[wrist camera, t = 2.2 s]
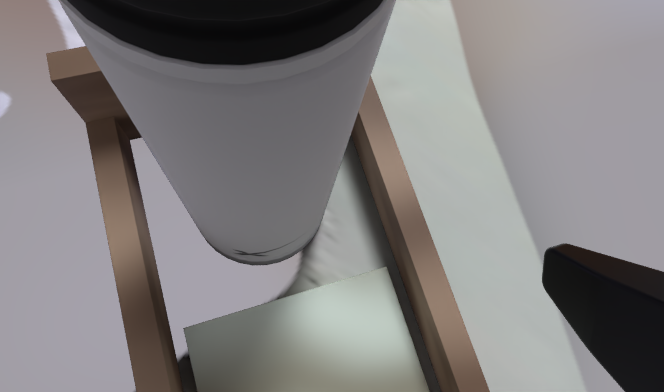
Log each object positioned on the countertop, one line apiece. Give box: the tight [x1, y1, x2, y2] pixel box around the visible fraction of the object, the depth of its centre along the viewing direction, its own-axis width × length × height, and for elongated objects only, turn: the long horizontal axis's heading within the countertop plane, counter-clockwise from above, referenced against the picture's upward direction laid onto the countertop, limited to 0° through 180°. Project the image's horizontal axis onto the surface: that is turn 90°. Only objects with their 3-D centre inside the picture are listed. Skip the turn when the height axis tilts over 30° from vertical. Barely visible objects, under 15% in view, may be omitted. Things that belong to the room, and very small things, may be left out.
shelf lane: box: [46, 46, 490, 392], centre depth 20 cm, size 21×13×6 cm, turn 18°
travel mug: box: [59, 0, 396, 265], centre depth 14 cm, size 6×7×20 cm
